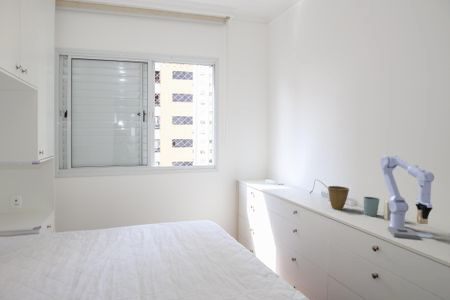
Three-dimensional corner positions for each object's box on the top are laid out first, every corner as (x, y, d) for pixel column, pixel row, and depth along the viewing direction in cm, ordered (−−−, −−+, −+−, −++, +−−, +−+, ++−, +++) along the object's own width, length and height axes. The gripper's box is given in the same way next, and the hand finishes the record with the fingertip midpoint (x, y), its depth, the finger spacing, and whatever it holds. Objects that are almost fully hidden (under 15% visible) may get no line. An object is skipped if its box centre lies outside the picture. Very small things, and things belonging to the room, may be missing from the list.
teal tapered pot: (359, 213, 227) (360, 197, 226) (369, 212, 231) (370, 196, 231) (372, 217, 218) (372, 199, 217) (381, 216, 222) (382, 198, 222)
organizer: (388, 229, 188) (388, 226, 188) (410, 232, 185) (410, 228, 185) (394, 236, 174) (394, 233, 174) (418, 239, 171) (419, 235, 171)
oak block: (416, 221, 181) (417, 209, 181) (424, 222, 180) (425, 210, 180) (419, 223, 177) (420, 211, 177) (427, 224, 176) (428, 211, 176)
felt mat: (412, 232, 184) (412, 231, 184) (429, 234, 182) (429, 233, 182) (417, 237, 176) (417, 235, 176) (435, 238, 173) (435, 237, 173)
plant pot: (323, 208, 242) (324, 187, 241) (333, 205, 252) (334, 185, 251) (341, 211, 231) (342, 189, 230) (351, 209, 241) (352, 188, 240)
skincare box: (392, 218, 216) (393, 200, 215) (395, 220, 211) (396, 202, 211) (383, 218, 215) (384, 200, 215) (386, 220, 211) (387, 201, 210)
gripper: (411, 191, 186) (410, 214, 186) (422, 195, 171) (420, 220, 172) (424, 191, 184) (423, 215, 185) (436, 196, 170) (435, 221, 171)
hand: (423, 217), depth 178 cm, fingers closed on oak block, 4 cm apart
